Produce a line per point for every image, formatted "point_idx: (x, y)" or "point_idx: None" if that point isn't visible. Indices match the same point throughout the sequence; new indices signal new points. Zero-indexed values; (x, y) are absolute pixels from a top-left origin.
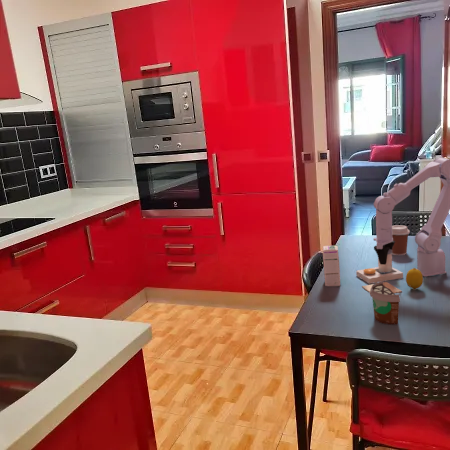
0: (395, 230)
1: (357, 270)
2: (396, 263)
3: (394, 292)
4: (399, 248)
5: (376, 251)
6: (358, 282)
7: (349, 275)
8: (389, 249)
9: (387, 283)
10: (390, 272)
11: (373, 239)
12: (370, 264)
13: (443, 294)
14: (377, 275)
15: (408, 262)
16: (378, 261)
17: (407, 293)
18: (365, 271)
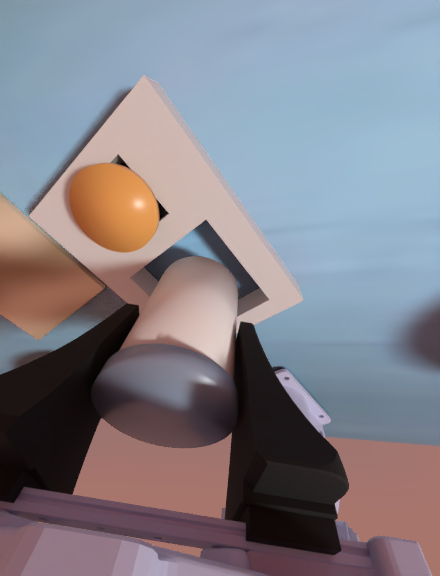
0: None
1: (151, 87)
2: (412, 312)
3: (9, 320)
4: None
5: (3, 381)
6: (35, 133)
7: (139, 3)
8: (204, 436)
9: (86, 293)
10: (249, 295)
11: (13, 558)
12: (435, 157)
13: None
14: (105, 257)
15: (415, 356)
16: (160, 295)
17: (42, 350)
18: (77, 185)
